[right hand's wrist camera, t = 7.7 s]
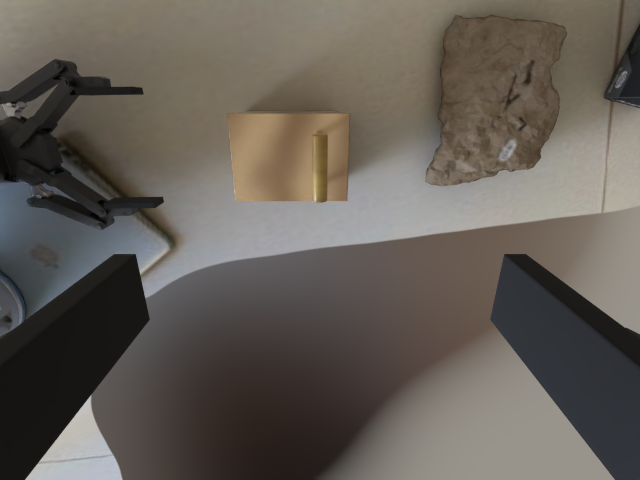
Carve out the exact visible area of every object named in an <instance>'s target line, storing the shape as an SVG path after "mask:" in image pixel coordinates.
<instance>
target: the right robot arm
mask: <svg viewBox="0 0 640 480" xmlns="http://www.w3.org/2000/svg"><path fill="white" fill-rule="evenodd" d="M149 320H150V319H149V314H148V309H147V305H146V300H145V295H144V291H143V286H142V282H141V277H140V272H139V268H138V263H137V258H136V254H114V255H112V256H111V257H110V258H108V259H107V260H106V261H104V262H103V263H102V264H100V265H99V266H98V267H96V268H95V269H94V270H92V271H91V272H90V273H88V274H87V275H86V276H84V277H83V278H82V279H80V280H79V281H77V282H76V283H75V284H73V285H72V286H71V287H69V288H68V289H67V290H65V291H64V292H63V293H61V294H60V295H59V296H57V297H56V298H55V299H53V300H52V301H51V302H49V303H48V304H47V305H45V306H44V307H43V308H41V309H40V310H39V311H37V312H36V313H34V314H33V315H32V316H30V317H29V318H28V319H26V320H25V321H24V322H22V323H21V324H20V325H18V326H17V327H16V328H14V329H13V330H11V331H9V332H7V333H5V334H3V335H1V336H0V480H25V479H26V478H27V476H28V475H29V474H30V473H31V471H32V470H33V469H34V467H35V466H36V465H37V464H38V462H39V461H40V460H41V458H42V457H43V456H44V455H45V453H46V452H47V451H48V449H49V448H50V447H51V446H52V444H53V443H54V442H55V440H56V439H57V438H58V437H59V435H60V434H61V433H62V431H63V430H64V429H65V428H66V426H67V425H68V424H69V422H70V421H71V420H72V419H73V417H74V416H75V415H76V414H77V412H78V411H79V410H80V408H81V407H82V406H83V405H84V403H85V402H86V401H87V399H88V398H89V397H90V396H91V394H92V393H93V392H94V390H95V389H96V388H97V386H98V385H99V384H100V383H101V381H102V380H103V379H104V378H105V376H106V375H107V374H108V372H109V371H110V370H111V369H112V367H113V366H114V365H115V363H116V362H117V361H118V360H119V358H120V357H121V356H122V354H123V353H124V352H125V351H126V349H127V348H128V347H129V345H130V344H131V343H132V342H133V340H134V339H135V338H136V337H137V335H138V334H139V333H140V331H141V330H142V329H143V327H144V326H145V325H146V324H147V322H148V321H149ZM491 321H492V322H493V324H494V325H495V326H496V328H497V329H498V330H499V331H500V333H501V334H502V335H503V337H504V338H505V339H506V340H507V342H508V343H509V344H510V345H511V347H512V348H513V349H514V351H515V352H516V353H517V354H518V356H519V357H520V358H521V360H522V361H523V362H524V363H525V365H526V366H527V367H528V369H529V370H530V371H531V372H532V374H533V375H534V376H535V377H536V379H537V380H538V381H539V383H540V384H541V385H542V387H543V388H544V389H545V390H546V392H547V393H548V394H549V396H550V397H551V398H552V399H553V401H554V402H555V403H556V405H557V406H558V407H559V408H560V410H561V411H562V412H563V414H564V415H565V416H566V417H567V419H568V420H569V421H570V422H571V424H572V425H573V426H574V427H575V429H576V430H577V431H578V433H579V434H580V435H581V437H582V438H583V439H584V440H585V442H586V443H587V444H588V446H589V447H590V448H591V449H592V451H593V452H594V453H595V455H596V456H597V457H598V458H599V460H600V461H601V462H602V464H603V465H604V466H605V467H606V469H607V470H608V471H609V473H610V474H611V475H612V476H613V478H614V479H615V480H640V334H638V333H636V332H634V331H632V330H630V329H628V328H624V327H623V326H622V325H620V324H619V323H618V322H616V321H615V320H614V319H612V318H611V317H610V316H608V315H607V314H605V313H604V312H603V311H601V310H600V309H599V308H597V307H596V306H595V305H593V304H592V303H591V302H589V301H588V300H587V299H585V298H584V297H583V296H581V295H580V294H579V293H577V292H576V291H575V290H573V289H572V288H571V287H569V286H568V285H567V284H565V283H564V282H562V281H561V280H560V279H558V278H557V277H556V276H554V275H553V274H552V273H550V272H549V271H548V270H546V269H545V268H544V267H542V266H541V265H540V264H538V263H537V262H536V261H534V260H533V259H532V258H530V257H529V256H528V255H526V254H504V258H503V263H502V268H501V272H500V277H499V282H498V286H497V291H496V295H495V300H494V305H493V309H492V314H491Z"/></svg>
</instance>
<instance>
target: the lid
mask: <svg viewBox="0 0 640 480" xmlns="http://www.w3.org/2000/svg"><path fill="white" fill-rule="evenodd" d="M227 117H228V127H229V138H230V149H231V160H232V170H233V181H234V192H235V201H313V202H326V201H347V195H348V162H349V128H350V114H349V113H228V114H227Z"/></svg>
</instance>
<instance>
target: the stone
mask: <svg viewBox="0 0 640 480" xmlns="http://www.w3.org/2000/svg"><path fill="white" fill-rule="evenodd" d="M566 35H567V32H566V29H565V27H563V26H559V25H557V24H554V23H548V22H543V21H537V20H536V21H528V20H522V19H515V20H512V19H508V18H503V17H498V16H494V15H490V16H488V17H486V18H462V17H461V16H457V15H455V17H454V20H453V22H452V24H451V25H450V26H449V27H448V28H447V29H446V32H445V35H444V40H443V41H444V45H443V47H444V51H445V56H444V58H443V60H442V65H441V69H440V72H441V78H442V92H443V95H442V103H441V105H440V109H439V112H438V119H439V120H440V121H441V122H442V124H443V125H442V127H441V135H440V137H441V145H440V146H439V147H438V148H437V149H436V151H435V154H434V158H433V161H432V162H431V163H430V165H429V167H428V168H427V171H426V182H427V183H429V184H431V185H439V186H446V185H456V184H460V183H463V182H467V183H469V182H471V181H476V180H478V179H480V178H485V177H490V176H495V175H496V174H497V173H498V171H500V170H508V171H510V172H512V171H514V170H521V169H527V170H528V169H530V168H533V167H534V166H535V164H536V163H537V162H538V161H539V159H540V158H541V155H540V152H541V148H542V147H543V145H544V143H545V142H546V141H547V140H548V139H549V135H550V134H551V132H552V130H553V128H554V126H555V123H556V120H557V116H558V112H559V108H560V107H559V94H558V92H557V91H556V90H555V89H554V87H553V85H552V83H551V82H552V79H551V75H550V67H551V66H552V64H553V63H554V62H555V61H557V60H559V58H560V50H561V46H562V43H563V40H564V39H565V37H566Z"/></svg>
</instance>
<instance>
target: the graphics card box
mask: <svg viewBox="0 0 640 480" xmlns="http://www.w3.org/2000/svg"><path fill="white" fill-rule="evenodd" d="M604 98H605V99H608V100H611V101H615V102H619V103H623V104H627V105H630V106H634V107H637V108H640V25H639V27H638V29H637V31H636V33H635V35H634V37H633V39H632V41H631V43H630V45H629V47H628V49H627V51H626V53H625V55H624V57H623V59H622V61H621V63H620V65H619V67H618V69H617V71H616V73H615V74H614V77H613V79H612V81H611V82H610V85H609V87H608V89H607V90H606V93H605V95H604Z"/></svg>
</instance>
